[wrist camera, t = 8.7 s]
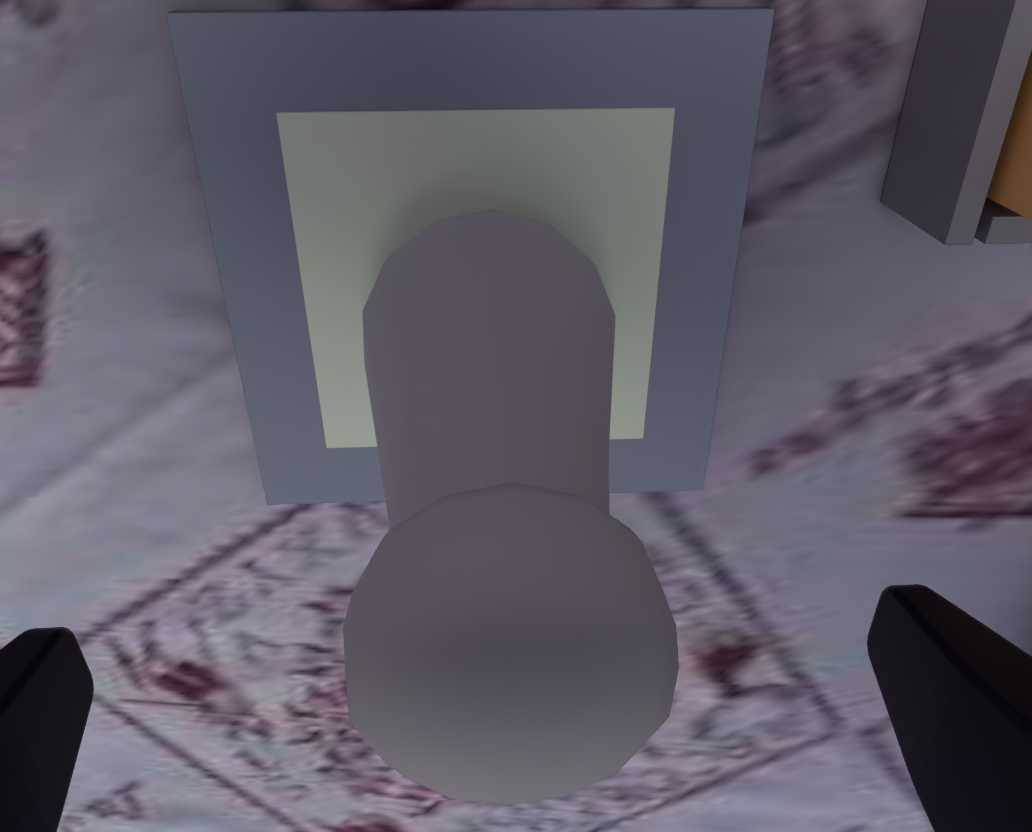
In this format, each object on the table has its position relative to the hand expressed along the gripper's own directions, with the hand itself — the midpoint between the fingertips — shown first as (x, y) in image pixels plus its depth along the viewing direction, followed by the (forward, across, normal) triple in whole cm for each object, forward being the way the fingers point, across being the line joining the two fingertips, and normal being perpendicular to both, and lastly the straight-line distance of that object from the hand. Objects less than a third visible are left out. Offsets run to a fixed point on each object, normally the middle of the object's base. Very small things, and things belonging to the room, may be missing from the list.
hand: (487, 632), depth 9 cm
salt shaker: (+13, 0, +1) cm, 13 cm away
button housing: (+13, -13, -3) cm, 18 cm away
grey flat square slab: (+13, 0, +1) cm, 13 cm away
